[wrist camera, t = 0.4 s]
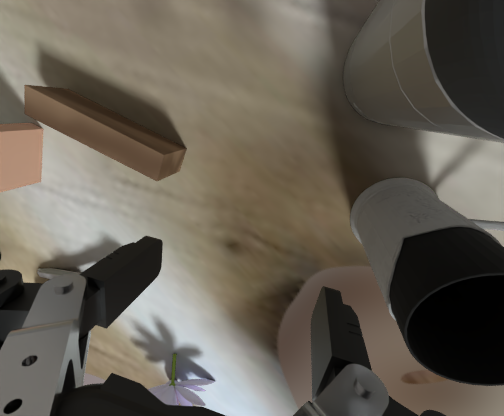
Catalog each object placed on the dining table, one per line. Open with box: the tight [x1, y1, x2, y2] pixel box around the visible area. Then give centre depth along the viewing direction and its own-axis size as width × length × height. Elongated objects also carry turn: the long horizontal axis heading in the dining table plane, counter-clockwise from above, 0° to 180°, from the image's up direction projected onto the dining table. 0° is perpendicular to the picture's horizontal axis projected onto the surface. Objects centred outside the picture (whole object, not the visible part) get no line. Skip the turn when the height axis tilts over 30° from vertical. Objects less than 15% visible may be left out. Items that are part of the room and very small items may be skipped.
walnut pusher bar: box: [25, 85, 187, 181], centre depth 27 cm, size 3×16×5 cm, turn 66°
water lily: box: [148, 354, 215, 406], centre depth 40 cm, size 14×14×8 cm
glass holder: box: [350, 178, 504, 386], centre depth 18 cm, size 9×14×15 cm, turn 108°
